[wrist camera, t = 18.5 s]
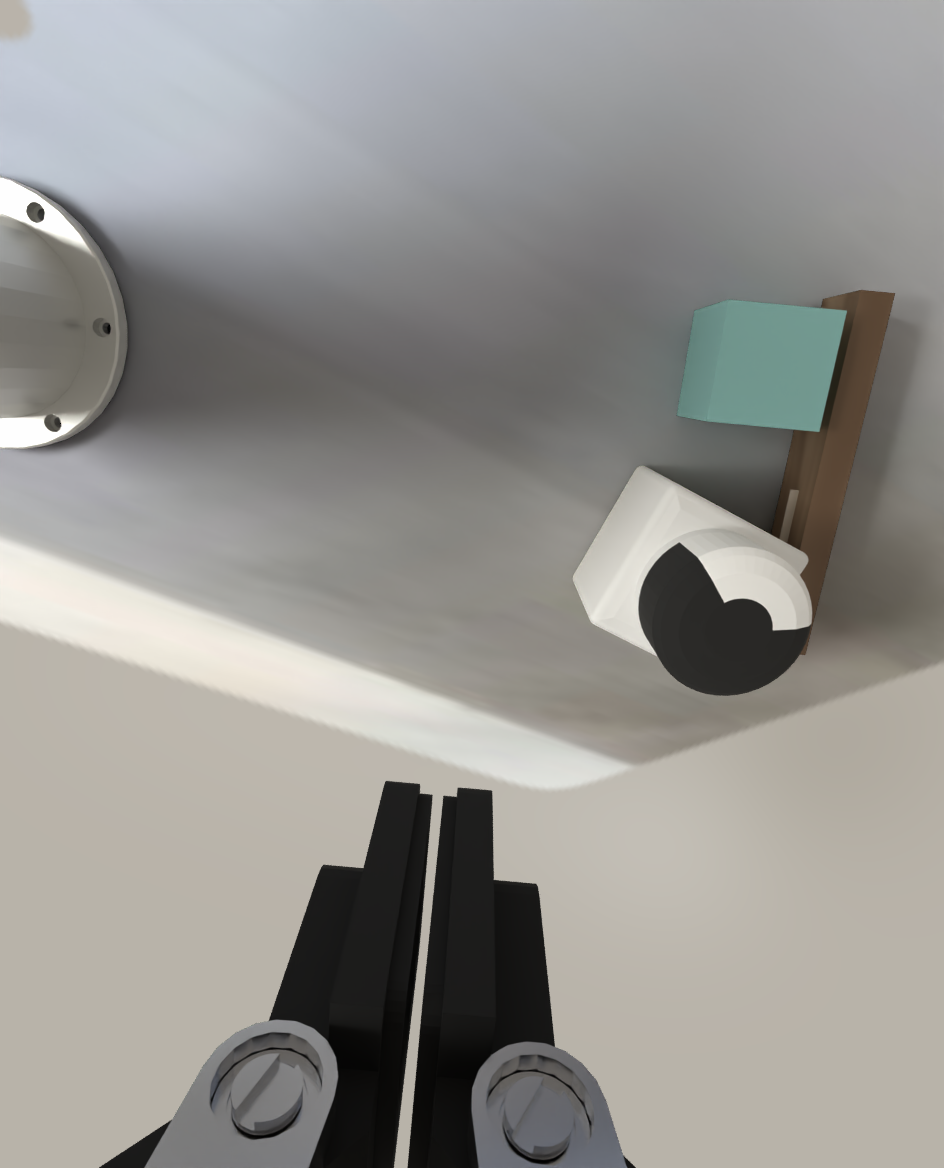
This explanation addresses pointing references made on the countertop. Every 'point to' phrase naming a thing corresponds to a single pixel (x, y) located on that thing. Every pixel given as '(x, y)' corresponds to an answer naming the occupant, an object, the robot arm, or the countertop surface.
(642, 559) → the medicine bottle
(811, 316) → the teal block
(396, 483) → the countertop surface
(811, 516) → the walnut fence
